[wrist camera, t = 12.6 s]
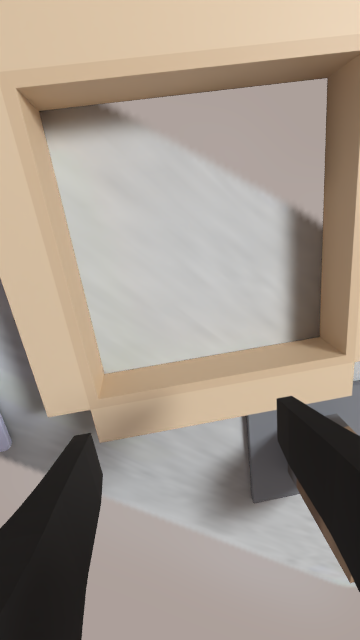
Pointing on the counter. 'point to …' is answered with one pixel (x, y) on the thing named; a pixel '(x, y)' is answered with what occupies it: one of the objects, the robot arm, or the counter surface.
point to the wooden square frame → (151, 82)
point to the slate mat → (268, 455)
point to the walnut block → (316, 515)
